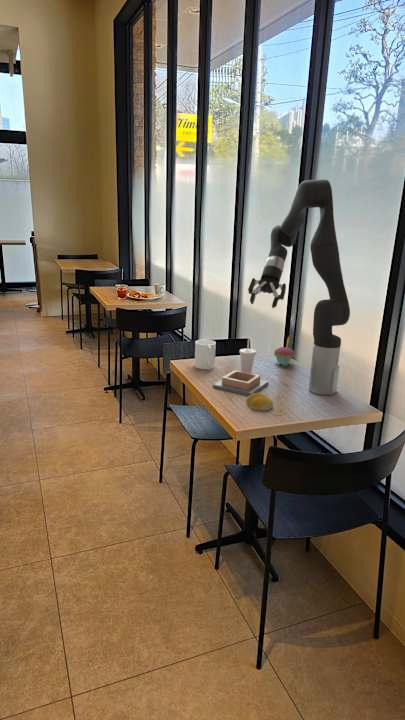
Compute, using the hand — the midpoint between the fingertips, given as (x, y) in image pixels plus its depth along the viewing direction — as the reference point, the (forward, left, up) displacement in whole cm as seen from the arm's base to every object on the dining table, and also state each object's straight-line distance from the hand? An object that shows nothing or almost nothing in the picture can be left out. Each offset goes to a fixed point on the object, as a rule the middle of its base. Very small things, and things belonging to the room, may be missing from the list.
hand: (262, 305), depth 189 cm
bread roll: (-16, +36, -27) cm, 47 cm away
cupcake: (-6, -12, -26) cm, 30 cm away
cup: (+18, +12, -26) cm, 34 cm away
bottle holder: (-4, +23, -26) cm, 35 cm away
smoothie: (+1, +10, -26) cm, 28 cm away
